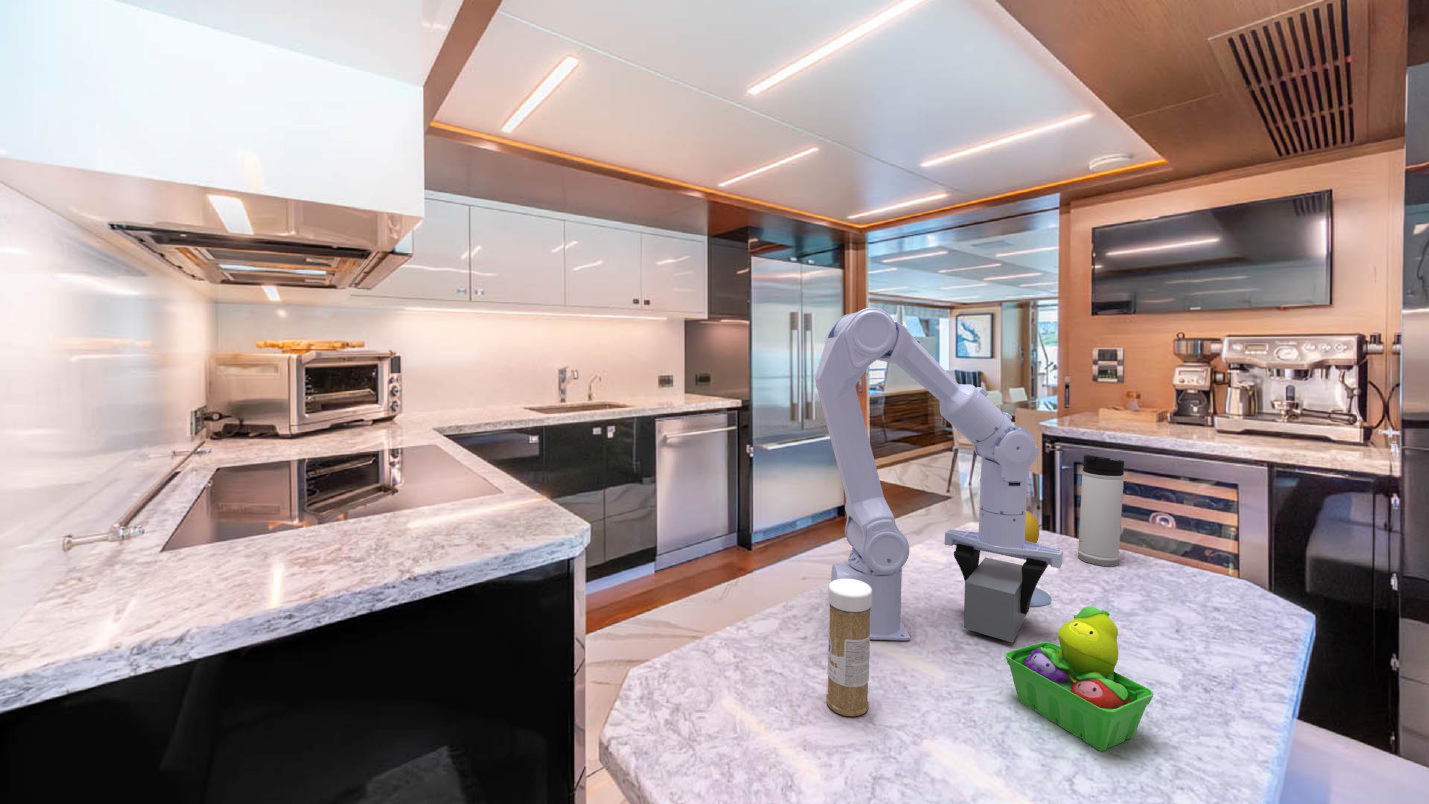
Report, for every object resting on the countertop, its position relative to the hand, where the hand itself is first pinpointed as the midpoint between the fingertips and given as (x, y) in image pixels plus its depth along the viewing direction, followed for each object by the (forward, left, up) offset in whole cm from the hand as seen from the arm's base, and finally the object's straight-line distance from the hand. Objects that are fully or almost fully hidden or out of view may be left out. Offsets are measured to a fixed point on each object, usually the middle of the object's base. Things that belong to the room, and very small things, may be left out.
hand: (998, 604), depth 78 cm
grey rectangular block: (0, 0, -2) cm, 2 cm away
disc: (+8, +11, -3) cm, 14 cm away
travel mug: (+30, +27, -3) cm, 41 cm away
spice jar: (-25, -19, -3) cm, 31 cm away
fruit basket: (-1, -20, -3) cm, 20 cm away
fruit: (+18, +33, -3) cm, 38 cm away
